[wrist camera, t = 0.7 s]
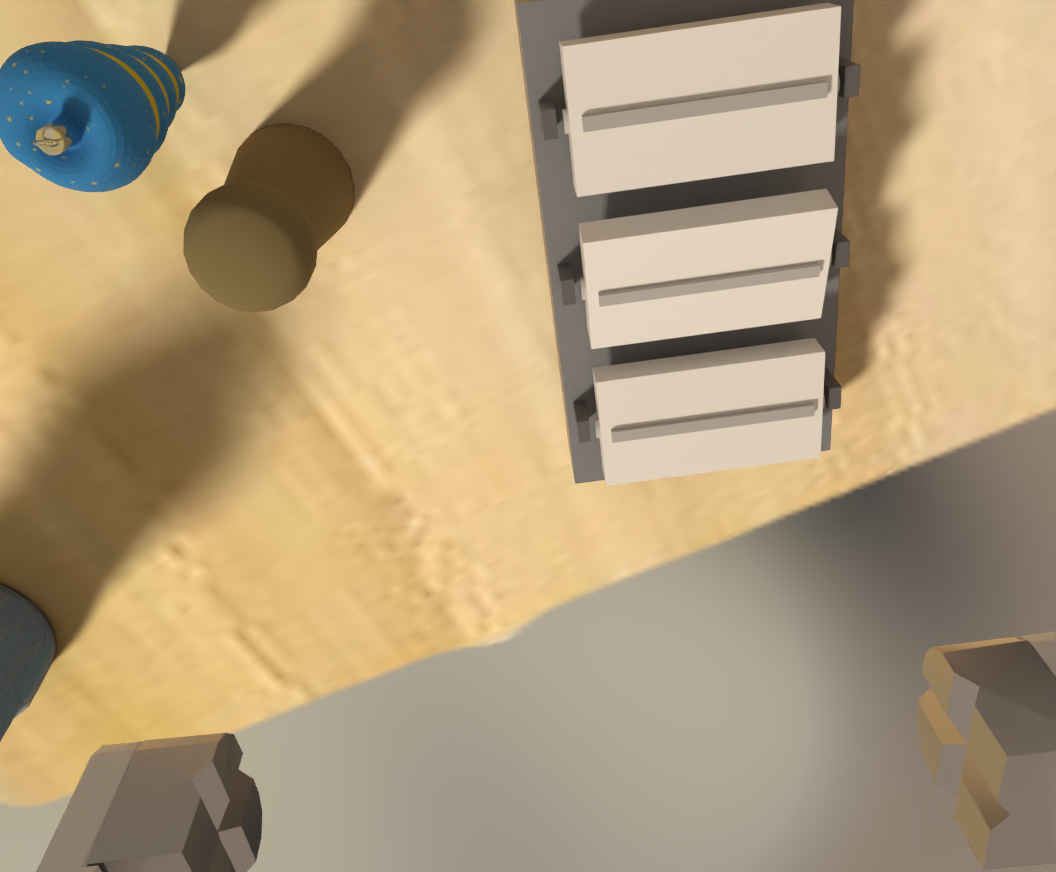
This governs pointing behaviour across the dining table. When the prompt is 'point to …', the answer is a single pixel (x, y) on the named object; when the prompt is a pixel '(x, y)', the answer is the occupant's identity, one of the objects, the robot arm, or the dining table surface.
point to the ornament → (87, 110)
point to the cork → (269, 218)
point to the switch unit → (655, 201)
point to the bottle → (21, 654)
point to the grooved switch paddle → (710, 411)
